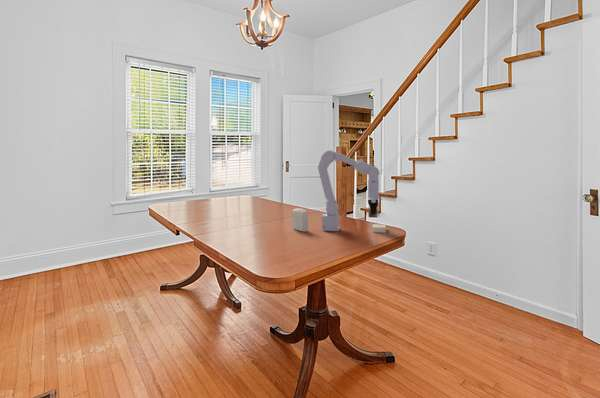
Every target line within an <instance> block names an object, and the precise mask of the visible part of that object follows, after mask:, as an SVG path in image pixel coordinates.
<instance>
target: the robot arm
mask: <svg viewBox="0 0 600 398" xmlns="http://www.w3.org/2000/svg"><path fill="white" fill-rule="evenodd" d="M333 162H342V163H345V164H348V165H350V166H352V167H354V170H355V171H357V172H359V173H360V174H364V175H367V176H368V179H367V197H366V198H367V203H368V205H369V209H370V210H371V215H375V214H376V209H377V210H378V208H377V207H378V205H379V199H382V197H381V196H379V192H380V191H379V190H380V189H379V188H380V183H379V179H380V178H379V175H380V170H379V168H378V167H376V166H374V165H373V164H372V163H367V162H365V160H363V159H362V160H361V159H359V160H355V159H353V158H351V157H349V156H347V155H345V154H343V153H339V152H336V151H333V150H326V151H325V152H323V154H322V155H321V156H320V160H319V163H318V166H317V170H318V174H319V178H320V181H321V186H322V188H323V189H322V190H323V192H324V197H325V205H326V207H325V211H326V213H323V214H322V216H321V218H322V219H321V228H322V230H321V231H323V232H324V231H325V232H326V231H327V232H340V230H341V226H340V213H339V212H338V210H339V204H338V201H336V197H335V196H334V195H335V194H334V192H333V191H334V190H333V188H332V187H333V186H332V184H331V179H330V175H329V171H328V168H329V166H330V165H331V164H332V163H333Z"/></svg>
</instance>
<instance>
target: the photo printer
mask: <svg viewBox="0 0 600 398" xmlns="http://www.w3.org/2000/svg"><path fill="white" fill-rule="evenodd" d="M308 214H309V213H308V211H307V210H305V209H303V208H298V207H296V208H294V209H292V216H291V217H292V229H293V230H296V231H300V232H304V233H305V232H308V231H309V225H308V224H309V223H308V222H309V221H308V216H309V215H308Z"/></svg>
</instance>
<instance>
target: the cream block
mask: <svg viewBox="0 0 600 398" xmlns="http://www.w3.org/2000/svg"><path fill="white" fill-rule="evenodd" d="M371 228H372V229H371V232H372V233H386V231H387V228H386V224H378V223H377V224H374V223H373V224H372V227H371Z"/></svg>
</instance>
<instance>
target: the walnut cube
mask: <svg viewBox="0 0 600 398" xmlns="http://www.w3.org/2000/svg"><path fill="white" fill-rule="evenodd" d="M368 218H378V208H377V209H376V214H375V215H371V210H370V208H368Z"/></svg>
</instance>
